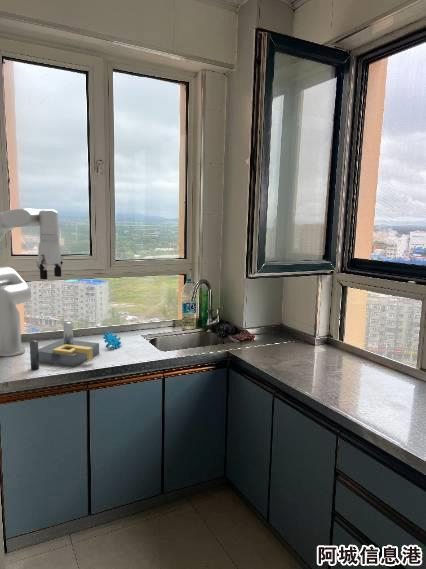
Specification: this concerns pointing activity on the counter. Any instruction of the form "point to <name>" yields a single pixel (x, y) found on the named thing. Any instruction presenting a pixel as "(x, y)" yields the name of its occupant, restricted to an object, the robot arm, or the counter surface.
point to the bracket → (75, 350)
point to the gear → (112, 340)
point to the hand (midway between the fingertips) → (51, 277)
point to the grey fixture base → (66, 359)
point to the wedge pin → (34, 354)
